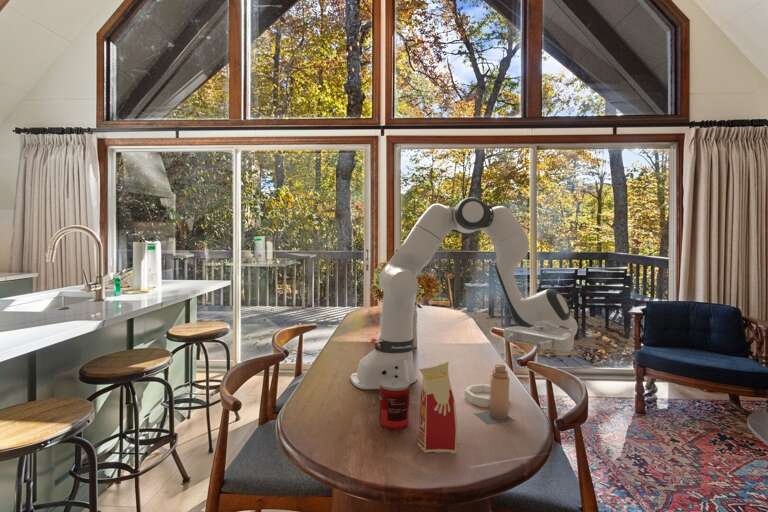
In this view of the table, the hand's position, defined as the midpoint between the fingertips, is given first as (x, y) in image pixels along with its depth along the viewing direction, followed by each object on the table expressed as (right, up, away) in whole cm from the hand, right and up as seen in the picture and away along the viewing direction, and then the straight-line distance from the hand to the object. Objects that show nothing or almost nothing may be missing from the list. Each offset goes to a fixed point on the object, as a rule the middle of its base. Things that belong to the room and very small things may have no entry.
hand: (524, 342), depth 126 cm
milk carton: (-29, -20, -23) cm, 42 cm away
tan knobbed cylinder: (-9, -19, -7) cm, 22 cm away
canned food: (-38, -19, -12) cm, 45 cm away
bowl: (-10, -18, +4) cm, 21 cm away
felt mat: (-11, -19, -8) cm, 23 cm away
